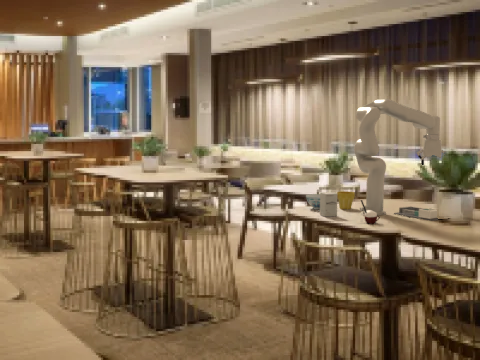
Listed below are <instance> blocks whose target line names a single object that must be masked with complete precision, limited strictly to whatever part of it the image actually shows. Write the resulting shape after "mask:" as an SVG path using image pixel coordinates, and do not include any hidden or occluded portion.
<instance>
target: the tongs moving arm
mask: <svg viewBox="0 0 480 360" xmlns="http://www.w3.org/2000/svg"><path fill="white" fill-rule="evenodd" d="M411 207H412V210H413V211H419V209H423V210H429V208H423V207H418V206H411Z"/></svg>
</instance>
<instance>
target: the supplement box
mask: <svg viewBox="0 0 480 360" xmlns="http://www.w3.org/2000/svg"><path fill="white" fill-rule="evenodd" d="M319 194H320V210H319V215H320V216H322V217H324V218H325V217H337V215H338V198H337V192H331V191H329V192H320V193H319Z"/></svg>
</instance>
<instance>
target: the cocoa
mask: <svg viewBox="0 0 480 360" xmlns="http://www.w3.org/2000/svg"><path fill="white" fill-rule="evenodd" d="M360 202H361V203H360V204H361V206H362V208H364V211H365V214H364V213H363V214H364V221H365V223H366V224H368V225H371V224H372V225H373V224H376V223H377V222H378V221H379V220H380V217H381V216H380V215H377V213H376V212H374V211H372V210H367V211H366V209H365V203H364V201H363V200H362V199H360Z"/></svg>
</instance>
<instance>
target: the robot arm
mask: <svg viewBox="0 0 480 360" xmlns="http://www.w3.org/2000/svg"><path fill="white" fill-rule="evenodd" d="M381 115H385V116H389V117H391V118H392V119H393V118H394V119H396V120H397V121H401V122H404V123H405V122H406V123H412V124H411V125H412V126H413V127H414V128H416V129H418V130H422V129H423V130H425V135H424V134H423V137H422V138H424V141H423V149H420V150H419V151H416V155H417V156H418V158H419V159H420V160H421V164H422V165H424V166H425V160H424V159H425V158H426V157H427V158H432V157H431V156H432V155H435V156H437V157H436V158H439V159H440V158H441V157H442V153H443V154H444V152H446V151H445V150H443V149H442V148H443V147H442V141H441V140H442V139H440V138H441V137H440V135H441V134H440V133H441V129H440V128H441V118H440V116H439V115H431V114H429V113H427V112H424V111H422V110H419V109H418V110H417V109H415V108H412V107H408V106H405V105H403V104H402V103H398V102H397V101H395V100H392V99H389V98H378V99H375V100H373V101H371V102H369V103H367V104H364V105H362V106H359V108H358V109H357V110H356V112H355V117H356V119H357V121H358V122H360V124H359V126H358V127H359V128H358V134H359V139H357V140H356V142H355V144H354V147H353V148H354V149H353V150H354V151H353V152H354V155H355V158H356V159H355V160H356V162H357V166H358V168H359V170H360V171H361V172H362V173H364V174H368V175H367V179H366V191H365V192H366V194H365V197H366V199H365V204H364V206H365V209H366V211H367V210H372V211H374V212H376V213H377V216H383V215H386V214H387V211H386V210H384V197H385V196H384V195H385V193H384V191H385V175H386V170H387V164H386V162H385V160H384V159H382V158H380V157H375V156H377V154H379V151H380V145H379V142H378V139H377V136H376V135H377V134H376V131H375V129H376V128H375V127H376V124H377V122H378V121H379V120H380V118H381ZM421 153H422V156H421ZM421 164H420V165H421ZM422 165H421V166H422ZM359 211H360V212H362V214H365V211H364V208H363V207H359Z"/></svg>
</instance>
